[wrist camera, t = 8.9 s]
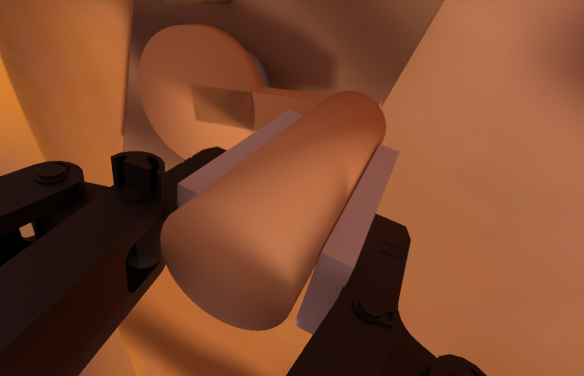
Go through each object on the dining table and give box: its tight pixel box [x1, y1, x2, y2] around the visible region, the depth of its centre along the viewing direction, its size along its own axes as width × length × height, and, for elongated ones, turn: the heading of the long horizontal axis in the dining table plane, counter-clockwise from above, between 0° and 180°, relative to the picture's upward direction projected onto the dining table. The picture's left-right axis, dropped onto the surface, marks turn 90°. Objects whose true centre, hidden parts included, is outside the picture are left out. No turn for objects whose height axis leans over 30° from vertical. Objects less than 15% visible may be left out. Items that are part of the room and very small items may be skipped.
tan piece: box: [138, 24, 386, 331], centre depth 12 cm, size 13×7×11 cm, turn 89°
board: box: [123, 0, 444, 172], centre depth 19 cm, size 20×16×6 cm
